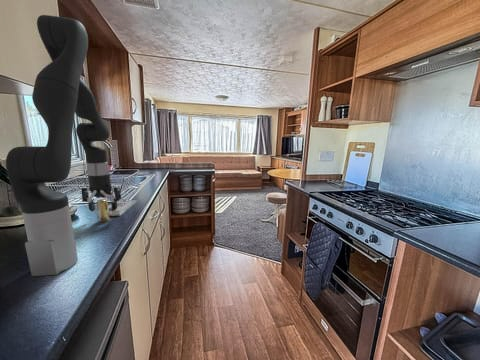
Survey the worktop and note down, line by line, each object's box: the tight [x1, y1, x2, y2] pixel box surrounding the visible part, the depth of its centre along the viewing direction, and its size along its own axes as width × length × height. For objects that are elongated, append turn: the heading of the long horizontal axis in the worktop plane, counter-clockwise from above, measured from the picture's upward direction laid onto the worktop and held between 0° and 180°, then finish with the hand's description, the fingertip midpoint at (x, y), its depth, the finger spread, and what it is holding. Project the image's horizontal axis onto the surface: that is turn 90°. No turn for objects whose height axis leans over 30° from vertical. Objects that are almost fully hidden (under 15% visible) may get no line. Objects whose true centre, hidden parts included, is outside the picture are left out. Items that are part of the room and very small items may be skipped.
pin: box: [96, 198, 110, 223], centre depth 89 cm, size 4×4×9 cm
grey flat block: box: [108, 199, 137, 217], centre depth 104 cm, size 20×8×3 cm, turn 7°
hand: (103, 210), depth 89 cm, fingers open, 8 cm apart
